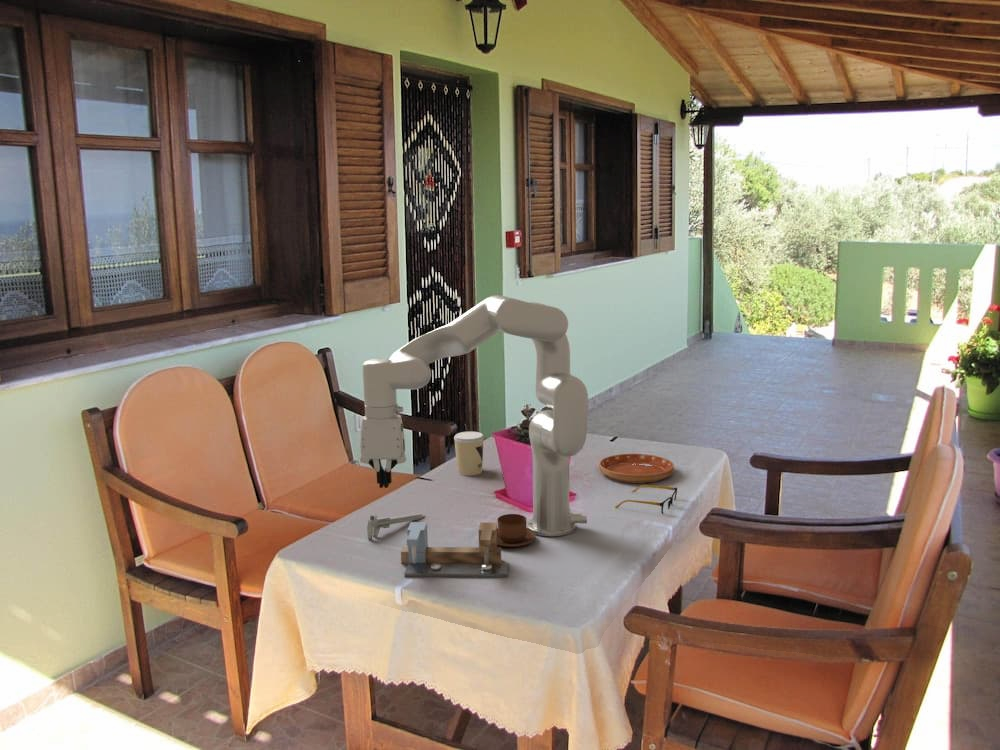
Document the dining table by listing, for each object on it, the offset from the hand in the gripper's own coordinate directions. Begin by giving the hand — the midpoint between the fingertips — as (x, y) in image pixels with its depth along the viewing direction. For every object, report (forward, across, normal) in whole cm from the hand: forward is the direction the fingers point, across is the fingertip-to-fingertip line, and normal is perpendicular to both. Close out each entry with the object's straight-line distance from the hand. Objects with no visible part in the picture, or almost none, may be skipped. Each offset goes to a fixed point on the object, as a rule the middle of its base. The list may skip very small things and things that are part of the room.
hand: (384, 485), depth 221 cm
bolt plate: (+19, -18, +6) cm, 27 cm away
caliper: (+20, +1, -22) cm, 29 cm away
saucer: (+20, -66, -68) cm, 96 cm away
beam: (+19, -15, +3) cm, 25 cm away
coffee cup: (+19, -14, -70) cm, 74 cm away
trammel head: (+19, -8, +3) cm, 20 cm away
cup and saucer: (+20, -30, -13) cm, 38 cm away
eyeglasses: (+20, -66, -41) cm, 81 cm away
